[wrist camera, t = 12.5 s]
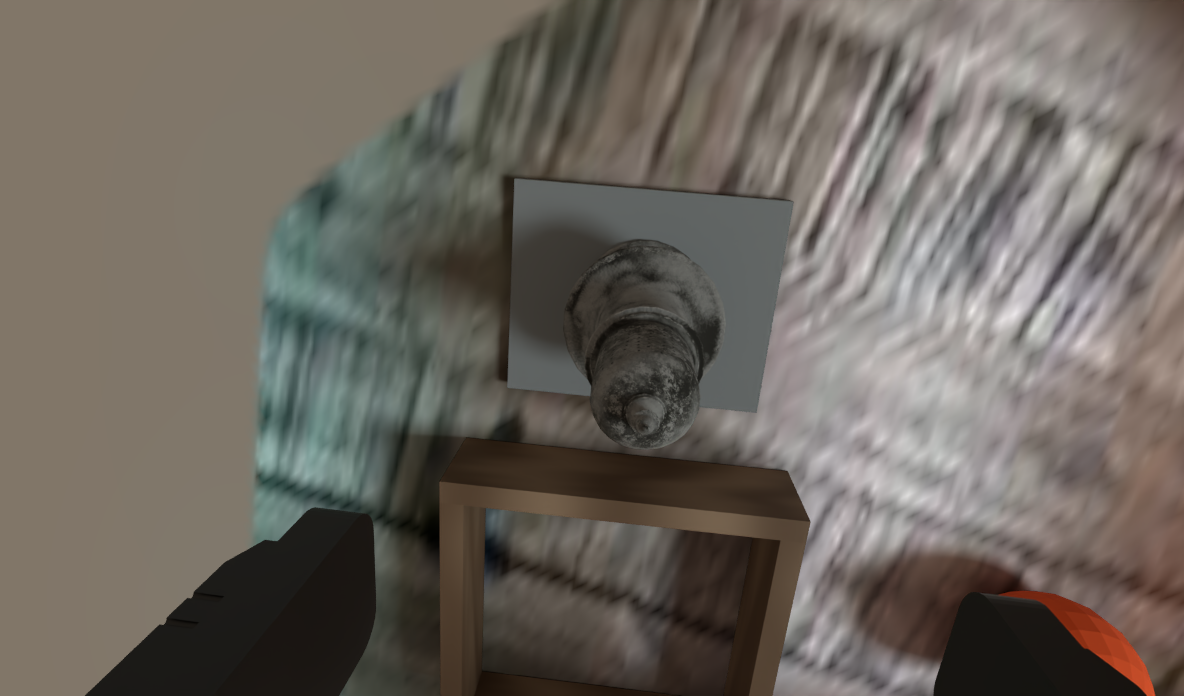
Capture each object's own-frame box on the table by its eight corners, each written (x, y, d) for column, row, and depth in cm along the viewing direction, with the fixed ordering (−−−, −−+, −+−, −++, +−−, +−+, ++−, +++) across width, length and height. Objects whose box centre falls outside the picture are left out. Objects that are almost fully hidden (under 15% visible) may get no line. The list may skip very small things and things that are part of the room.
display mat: (790, 200, 24) (793, 201, 24) (754, 407, 27) (756, 412, 26) (517, 177, 25) (514, 178, 24) (510, 382, 28) (507, 387, 27)
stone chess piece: (553, 258, 25) (481, 351, 14) (691, 212, 24) (737, 271, 13) (599, 385, 27) (568, 562, 15) (730, 346, 26) (802, 505, 14)
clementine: (879, 625, 30) (947, 762, 23) (973, 523, 28) (1077, 641, 21) (1010, 694, 31) (1113, 847, 24) (1112, 600, 29) (1256, 738, 22)
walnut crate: (787, 471, 28) (810, 521, 24) (738, 717, 33) (751, 792, 29) (466, 437, 29) (439, 481, 25) (463, 683, 33) (440, 751, 30)
